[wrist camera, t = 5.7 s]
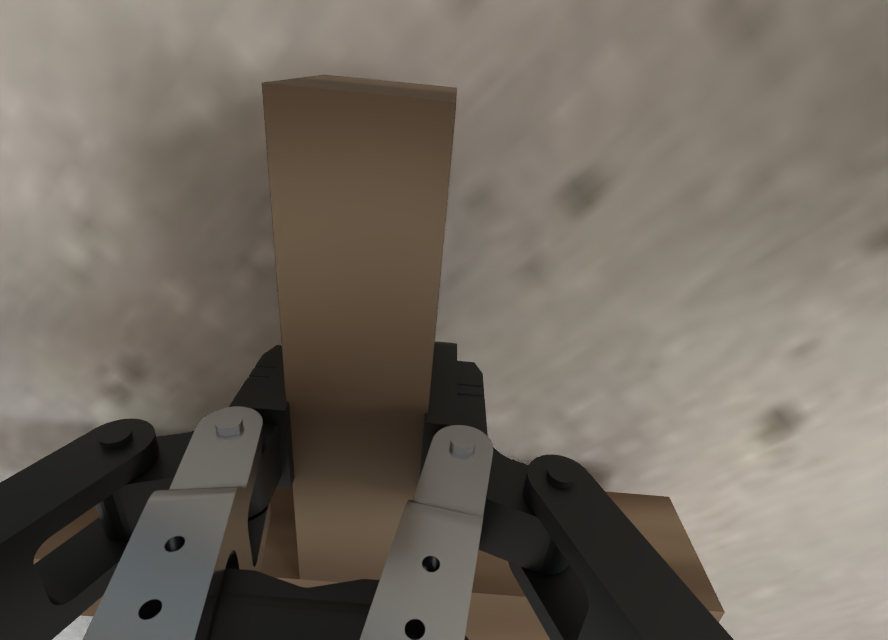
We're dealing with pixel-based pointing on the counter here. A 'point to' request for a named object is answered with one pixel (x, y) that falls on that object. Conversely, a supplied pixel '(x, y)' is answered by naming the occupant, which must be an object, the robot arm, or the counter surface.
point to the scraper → (374, 340)
